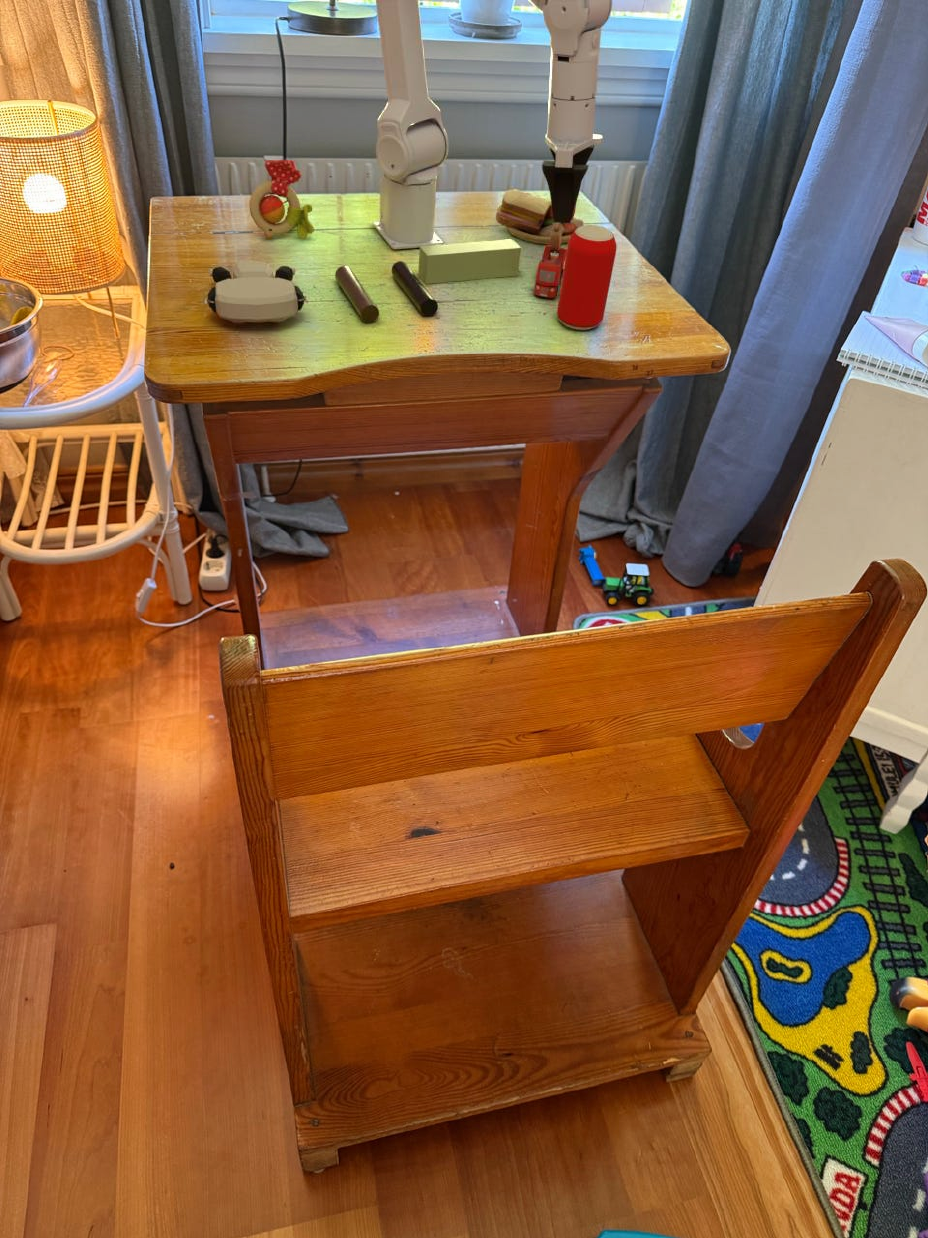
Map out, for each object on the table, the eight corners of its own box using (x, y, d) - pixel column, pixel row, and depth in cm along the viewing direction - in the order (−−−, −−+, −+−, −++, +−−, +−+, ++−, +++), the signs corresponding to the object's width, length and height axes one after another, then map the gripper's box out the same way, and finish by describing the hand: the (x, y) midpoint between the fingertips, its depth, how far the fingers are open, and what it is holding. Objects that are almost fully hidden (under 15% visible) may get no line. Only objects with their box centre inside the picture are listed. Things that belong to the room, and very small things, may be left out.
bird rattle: (276, 260, 133) (330, 230, 134) (239, 189, 125) (297, 157, 125) (265, 243, 137) (317, 214, 138) (228, 174, 129) (284, 143, 129)
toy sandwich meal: (568, 253, 138) (573, 221, 135) (485, 234, 141) (487, 202, 138) (590, 226, 147) (595, 195, 144) (511, 208, 150) (514, 178, 146)
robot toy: (206, 290, 122) (208, 335, 111) (202, 255, 119) (203, 298, 108) (300, 288, 124) (310, 332, 113) (298, 254, 121) (308, 296, 110)
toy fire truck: (531, 298, 126) (541, 226, 119) (545, 259, 136) (554, 191, 129) (555, 302, 126) (566, 230, 119) (567, 263, 135) (578, 195, 129)
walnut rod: (335, 283, 124) (334, 266, 123) (352, 282, 125) (352, 264, 124) (361, 323, 117) (361, 305, 115) (379, 322, 117) (379, 304, 116)
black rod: (391, 278, 127) (391, 261, 125) (407, 277, 128) (408, 260, 126) (420, 317, 119) (421, 299, 117) (437, 315, 120) (438, 298, 118)
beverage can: (547, 323, 121) (560, 231, 113) (570, 307, 125) (585, 217, 116) (587, 338, 119) (604, 245, 110) (609, 322, 122) (627, 231, 114)
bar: (426, 284, 127) (427, 255, 124) (418, 274, 129) (419, 245, 126) (517, 275, 131) (521, 247, 128) (508, 266, 133) (512, 238, 130)
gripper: (601, 109, 106) (591, 231, 114) (609, 84, 116) (599, 197, 125) (540, 107, 107) (535, 228, 115) (553, 82, 117) (548, 195, 126)
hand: (565, 212), depth 120 cm, fingers open, 7 cm apart
